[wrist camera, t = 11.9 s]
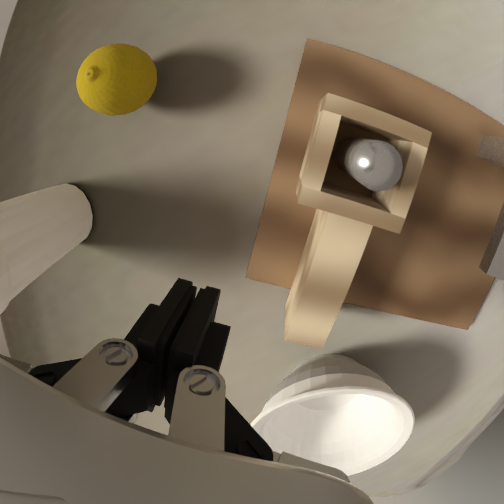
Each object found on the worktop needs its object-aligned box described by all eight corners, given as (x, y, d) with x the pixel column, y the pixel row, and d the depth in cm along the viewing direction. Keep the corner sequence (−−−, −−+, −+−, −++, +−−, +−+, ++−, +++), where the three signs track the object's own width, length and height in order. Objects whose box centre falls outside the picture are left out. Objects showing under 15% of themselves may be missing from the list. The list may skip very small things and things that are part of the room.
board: (306, 42, 20) (307, 38, 19) (530, 149, 20) (537, 150, 19) (247, 271, 28) (245, 277, 27) (463, 323, 28) (467, 329, 26)
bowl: (330, 437, 36) (334, 489, 28) (227, 392, 34) (214, 451, 26) (421, 364, 30) (445, 419, 22) (316, 297, 28) (324, 359, 20)
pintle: (340, 132, 21) (362, 133, 15) (374, 144, 21) (408, 150, 15) (330, 167, 23) (348, 182, 16) (364, 178, 22) (393, 197, 16)
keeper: (482, 135, 20) (529, 142, 14) (500, 146, 20) (547, 156, 14) (448, 241, 23) (486, 274, 17) (467, 248, 23) (505, 281, 17)
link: (319, 100, 21) (327, 92, 16) (404, 130, 21) (432, 132, 16) (263, 300, 27) (258, 334, 23) (338, 318, 27) (346, 353, 23)
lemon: (103, 83, 22) (46, 75, 15) (151, 43, 21) (103, 17, 14) (132, 128, 24) (78, 133, 17) (183, 89, 22) (141, 74, 15)
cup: (33, 211, 28) (-65, 262, 15) (67, 156, 25) (-51, 190, 12) (77, 265, 30) (-12, 340, 16) (117, 216, 27) (10, 287, 14)
